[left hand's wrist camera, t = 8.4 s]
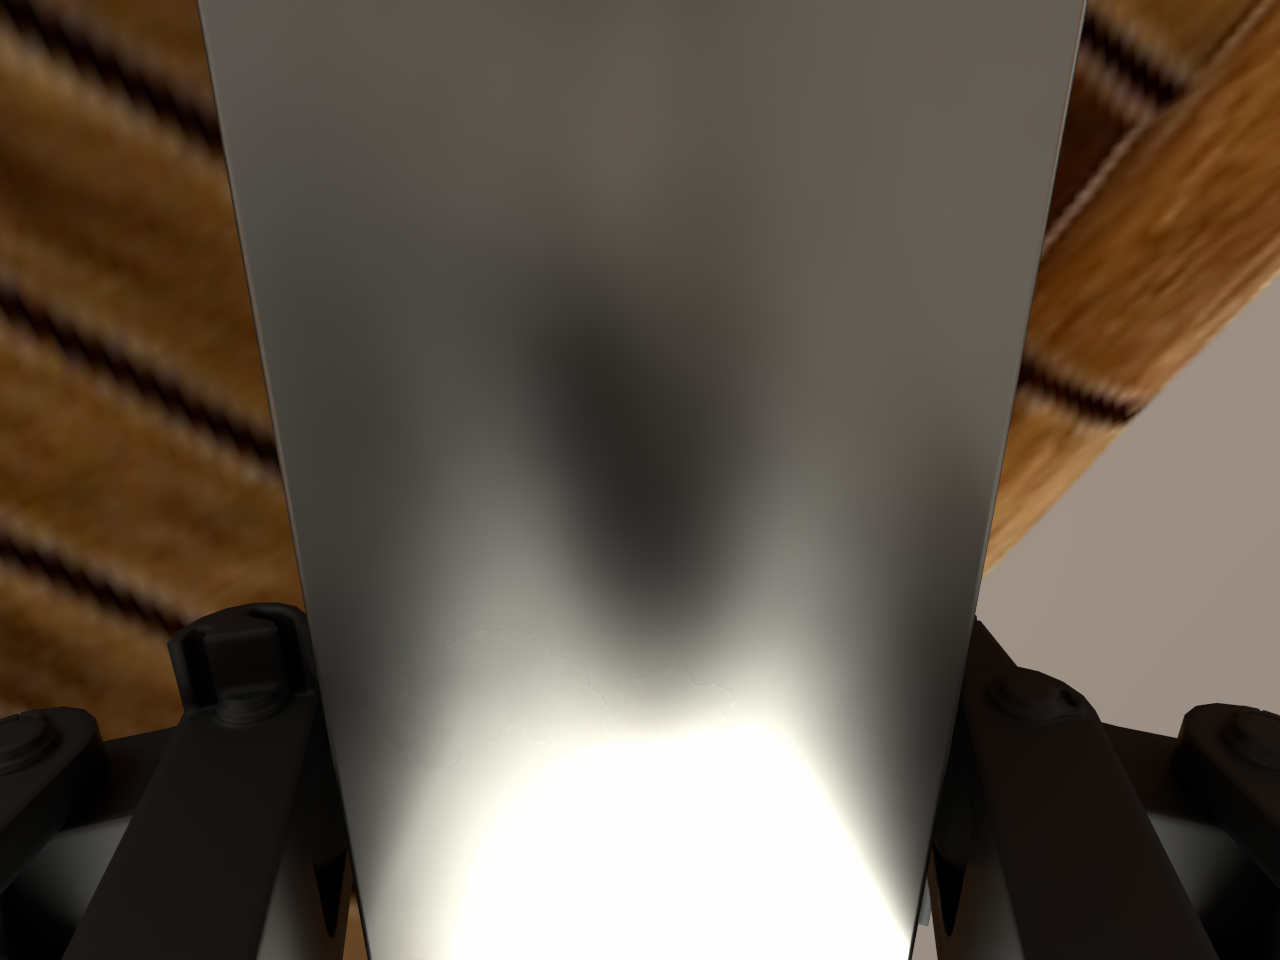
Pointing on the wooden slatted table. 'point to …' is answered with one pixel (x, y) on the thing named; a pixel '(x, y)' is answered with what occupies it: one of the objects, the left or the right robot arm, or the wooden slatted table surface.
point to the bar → (640, 441)
